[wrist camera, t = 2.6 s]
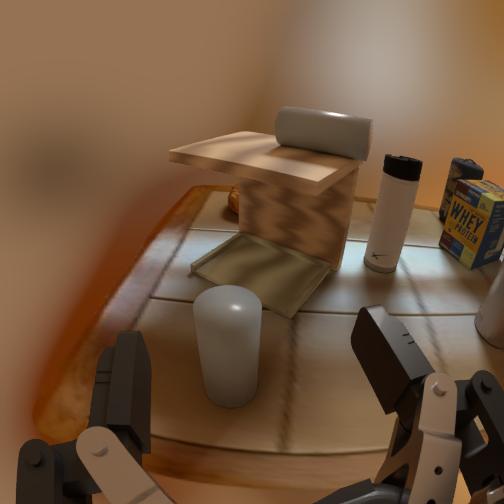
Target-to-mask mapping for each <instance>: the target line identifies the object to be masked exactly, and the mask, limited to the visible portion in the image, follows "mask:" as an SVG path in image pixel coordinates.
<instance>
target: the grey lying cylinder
mask: <svg viewBox="0 0 504 504" xmlns="http://www.w3.org/2000/svg"><path fill="white" fill-rule="evenodd" d="M372 122H373V121H372V120H371V119H366V118H361V117H356V116H350V115H345V114H339V113H332V112H326V111H319V110H311V109H303V108H295V107H286V106H284V107H282V108H281V109H280V111H279V112H278V115H277V118H276V122H275V137H276V140H277V142H278V144H280V145H285V146H291V147H297V148H302V149H308V150H314V151H319V152H324V153H329V154H334V155H339V156H344V157H348V158H353V159H357V160H362V161H366V160H367V158H368V155H369V151H370V147H371V141H372V132H373V123H372Z"/></svg>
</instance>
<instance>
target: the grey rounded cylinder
mask: <svg viewBox="0 0 504 504" xmlns="http://www.w3.org/2000/svg"><path fill="white" fill-rule="evenodd" d="M192 310H193V317H194V324H195V331H196V337H197V343H198V350H199V356H200V362H201V368H202V373H203V379H204V385H205V390H206V394H207V396H208V397H209V399H210V400H211V401H212V402H213V403H215V404H217V405H218V406H221V407H225V408H238V407H241V406H244V405H246V404H247V403H249V402H250V401H251V400H252V399H253V398H254V396H255V394H256V391H257V380H258V365H259V349H260V333H261V317H262V304H261V301H260V299H259V298H258V297H257V295H255V294H254V293H253V292H252V291H250V290H248V289H246V288H243V287H240V286H234V285H222V286H216V287H213V288H210V289H208V290H206V291H204V292H202V293H201V294H200V295H199V296H198V297H197V298H196V299H195V301H194V303H193V309H192Z"/></svg>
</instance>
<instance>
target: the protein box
mask: <svg viewBox="0 0 504 504" xmlns="http://www.w3.org/2000/svg"><path fill="white" fill-rule="evenodd" d="M439 245H440V246H441V247H442V248H444V249H445V250H446V251H447V252H449V253H450V254H451V255H452V256H453V257H455V258H456V259H457V260H458V261H459V262H461V263H462V264H463V265H464V266H465V267H466V268H468V269H469V270H471V269H474V268H476V267H479V266H482V265H484V264H487V263H490V262H492V261H495V260H497V259H499V258H500V256H501V253H502V251H503V248H504V190H503V189H502V188H501V187H499V186H497V185H495V184H494V183H492V182H490V181H483V180H460V179H457V182H456V186H455V190H454V194H453V198H452V201H451V205H450V209H449V212H448V216H447V219H446V222H445V226H444V229H443V232H442V235H441V238H440V241H439Z"/></svg>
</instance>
